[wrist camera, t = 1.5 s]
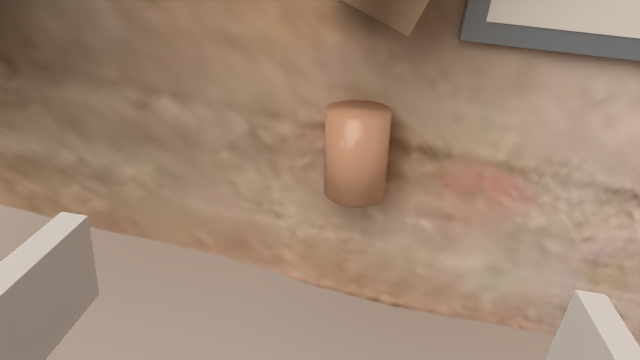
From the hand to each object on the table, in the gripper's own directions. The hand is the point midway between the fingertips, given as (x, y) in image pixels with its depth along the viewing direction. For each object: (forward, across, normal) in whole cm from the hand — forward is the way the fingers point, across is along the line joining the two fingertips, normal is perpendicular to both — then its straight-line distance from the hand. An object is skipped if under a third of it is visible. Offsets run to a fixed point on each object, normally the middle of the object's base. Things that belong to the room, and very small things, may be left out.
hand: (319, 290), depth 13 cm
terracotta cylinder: (+24, 0, -2) cm, 24 cm away
